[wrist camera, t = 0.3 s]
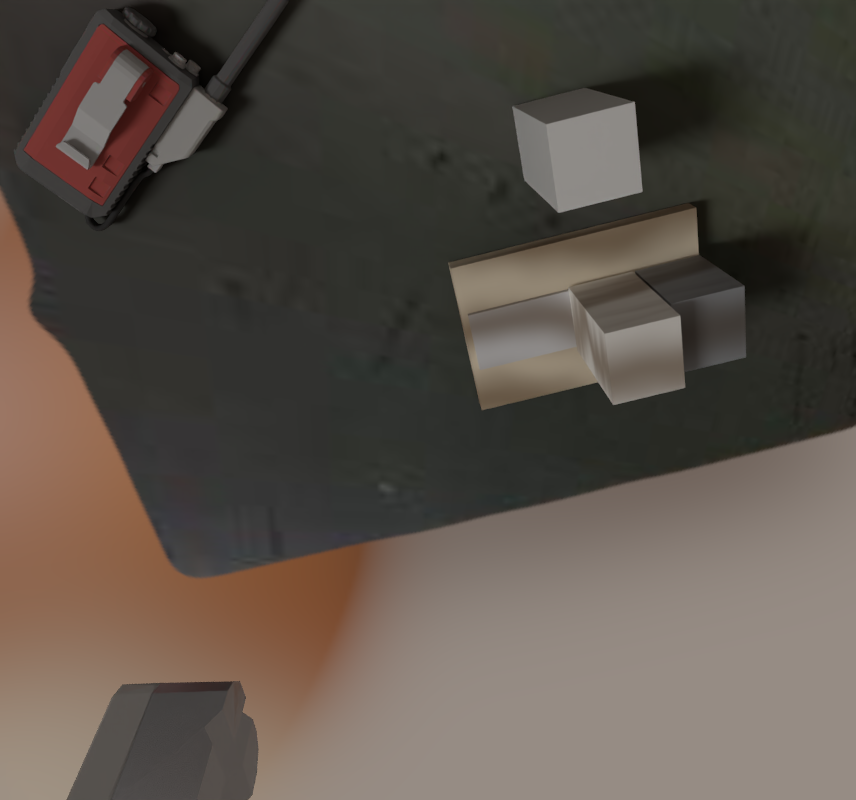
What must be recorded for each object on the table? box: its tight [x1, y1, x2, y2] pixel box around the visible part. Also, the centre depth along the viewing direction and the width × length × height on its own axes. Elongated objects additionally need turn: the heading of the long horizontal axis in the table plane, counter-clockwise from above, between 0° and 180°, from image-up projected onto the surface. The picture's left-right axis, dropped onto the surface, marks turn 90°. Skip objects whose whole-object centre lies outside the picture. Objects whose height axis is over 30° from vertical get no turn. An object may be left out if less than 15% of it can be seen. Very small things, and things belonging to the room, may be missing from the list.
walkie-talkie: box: [14, 0, 289, 231], centre depth 45 cm, size 9×4×20 cm
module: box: [512, 88, 642, 213], centre depth 45 cm, size 5×5×10 cm
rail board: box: [449, 203, 746, 410], centre depth 51 cm, size 12×18×11 cm, turn 103°
